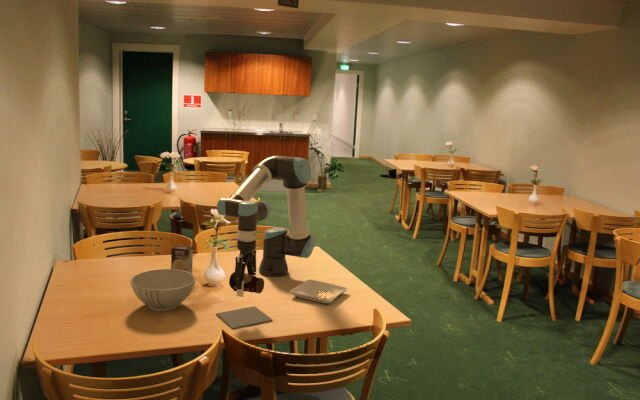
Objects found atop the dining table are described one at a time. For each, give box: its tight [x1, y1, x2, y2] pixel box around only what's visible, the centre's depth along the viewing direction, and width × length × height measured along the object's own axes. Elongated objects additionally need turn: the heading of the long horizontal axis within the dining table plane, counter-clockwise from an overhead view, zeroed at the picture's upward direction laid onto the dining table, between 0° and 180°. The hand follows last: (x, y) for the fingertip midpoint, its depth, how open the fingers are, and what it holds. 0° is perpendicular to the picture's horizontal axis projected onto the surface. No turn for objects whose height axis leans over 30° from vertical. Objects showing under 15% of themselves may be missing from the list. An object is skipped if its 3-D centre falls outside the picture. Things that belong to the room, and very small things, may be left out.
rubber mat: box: [215, 306, 273, 330], centre depth 234 cm, size 18×16×1 cm
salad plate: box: [289, 279, 348, 305], centre depth 264 cm, size 21×21×3 cm
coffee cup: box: [228, 271, 265, 294], centre depth 230 cm, size 9×8×13 cm
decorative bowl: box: [129, 268, 197, 312], centre depth 240 cm, size 27×27×12 cm
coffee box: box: [170, 244, 194, 274], centre depth 274 cm, size 9×6×16 cm
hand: (244, 293), depth 232 cm, fingers closed on coffee cup, 7 cm apart
